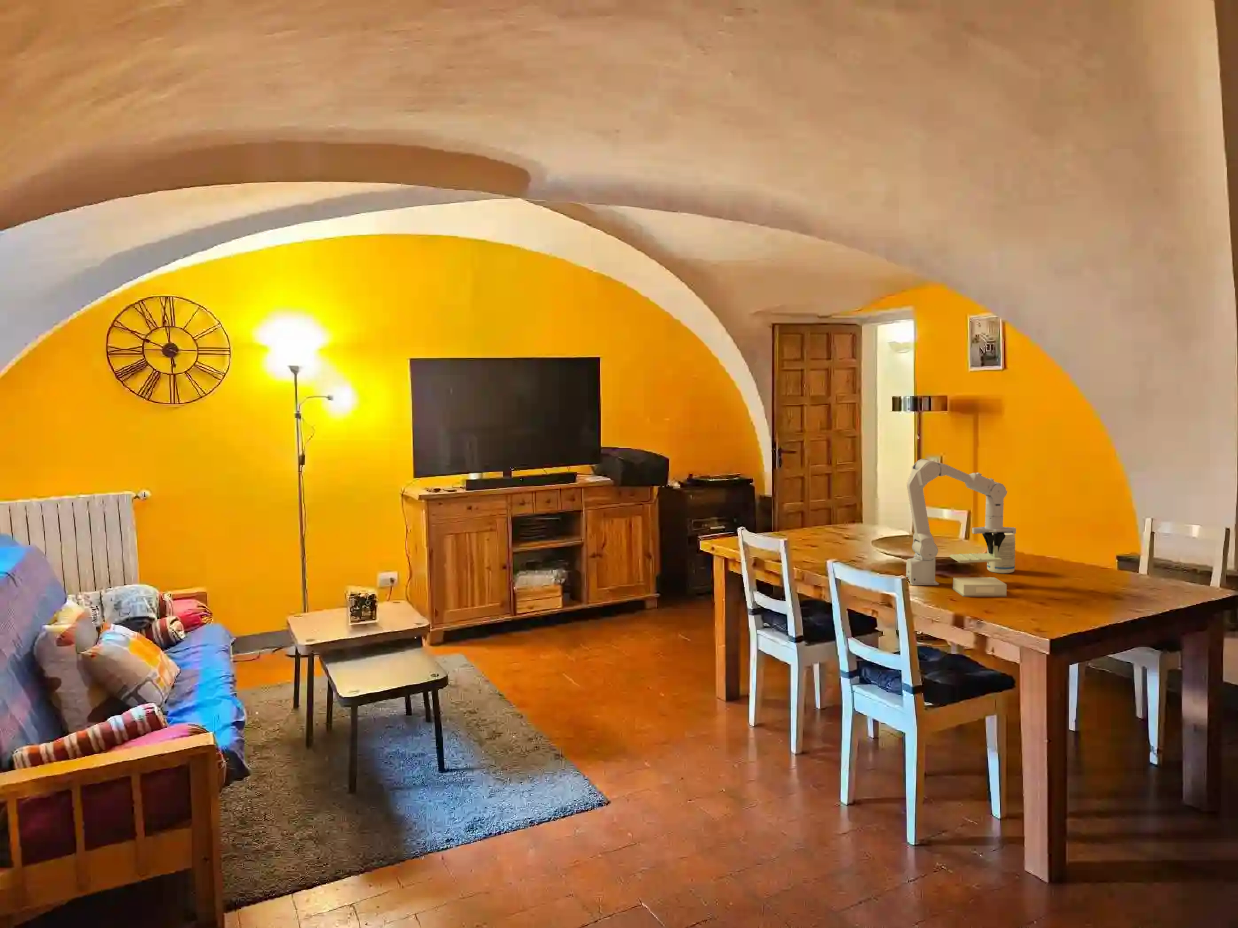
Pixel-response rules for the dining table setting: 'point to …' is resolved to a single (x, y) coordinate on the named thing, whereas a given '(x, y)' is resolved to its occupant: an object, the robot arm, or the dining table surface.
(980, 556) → the lid
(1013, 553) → the supplement tub
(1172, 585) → the dining table surface
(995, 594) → the block
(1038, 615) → the dining table surface
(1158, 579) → the dining table surface
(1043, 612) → the dining table surface
